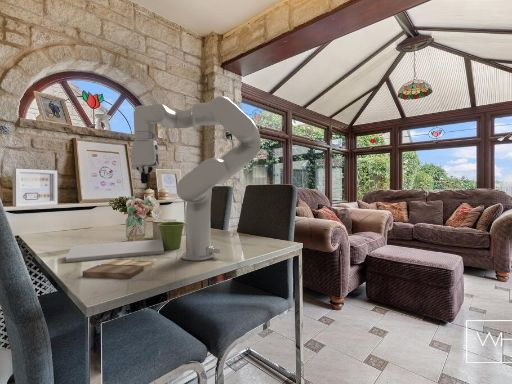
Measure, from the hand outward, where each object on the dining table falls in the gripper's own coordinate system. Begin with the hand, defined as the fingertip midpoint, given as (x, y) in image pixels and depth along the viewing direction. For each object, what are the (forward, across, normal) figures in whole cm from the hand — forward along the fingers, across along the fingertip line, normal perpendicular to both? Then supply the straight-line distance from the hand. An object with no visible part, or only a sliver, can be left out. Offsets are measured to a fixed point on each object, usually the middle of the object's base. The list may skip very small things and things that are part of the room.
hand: (145, 183), depth 110 cm
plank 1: (+29, +2, +15) cm, 33 cm away
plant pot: (+29, -5, -13) cm, 32 cm away
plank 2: (+29, -6, +16) cm, 34 cm away
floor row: (+29, -2, +24) cm, 38 cm away
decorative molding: (+30, +11, +1) cm, 32 cm away
